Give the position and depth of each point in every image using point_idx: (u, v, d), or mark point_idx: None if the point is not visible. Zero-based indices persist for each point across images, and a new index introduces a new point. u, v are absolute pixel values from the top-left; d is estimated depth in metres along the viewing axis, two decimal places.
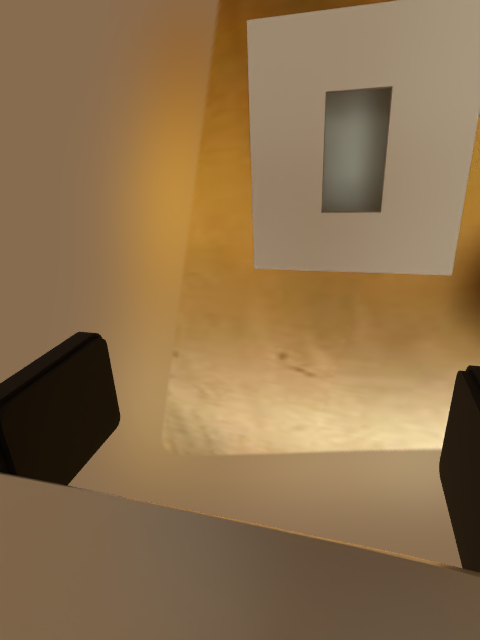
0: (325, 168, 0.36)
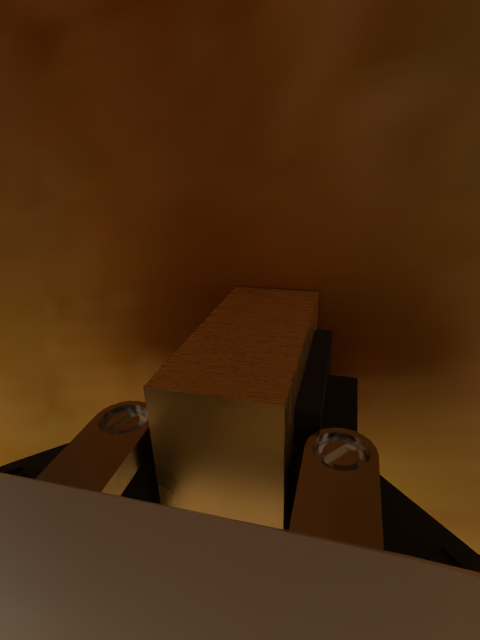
0: None
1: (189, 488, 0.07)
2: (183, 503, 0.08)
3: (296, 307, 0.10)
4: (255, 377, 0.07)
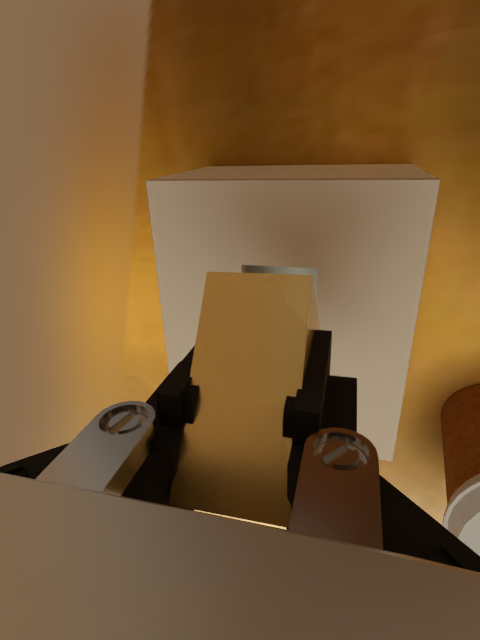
0: None
1: (221, 363, 0.09)
2: (211, 381, 0.08)
3: None
4: None
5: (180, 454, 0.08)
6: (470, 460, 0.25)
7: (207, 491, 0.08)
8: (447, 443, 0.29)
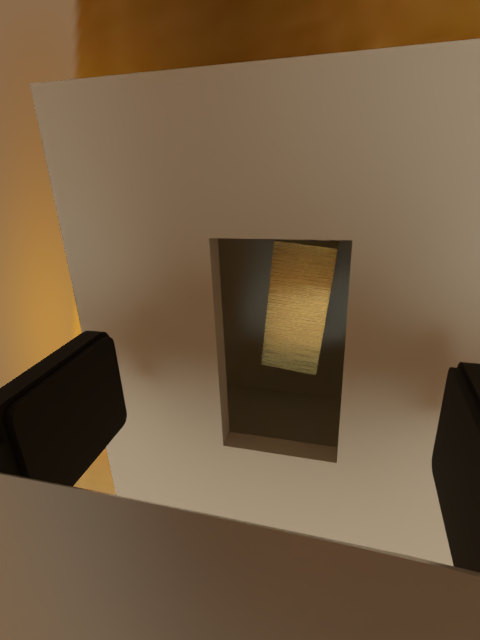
0: (262, 295, 0.22)
1: None
2: None
3: None
4: None
5: None
6: None
7: (295, 241, 0.16)
8: None
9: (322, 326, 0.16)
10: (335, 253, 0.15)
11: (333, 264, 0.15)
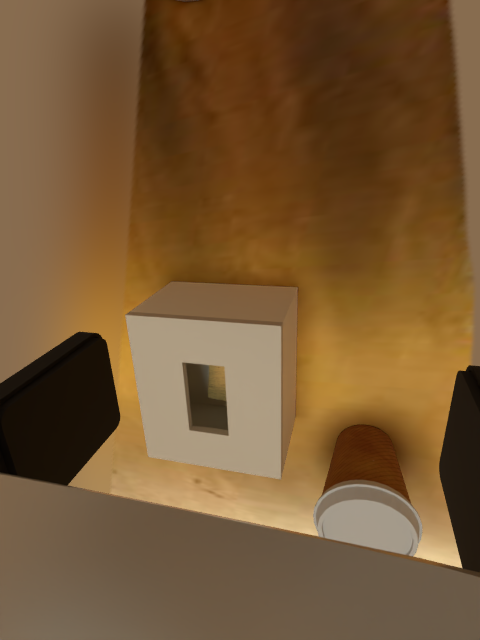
0: None
1: None
2: None
3: None
4: None
5: None
6: (332, 478, 0.39)
7: None
8: None
9: None
10: None
11: None
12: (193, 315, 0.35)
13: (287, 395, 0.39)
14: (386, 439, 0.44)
